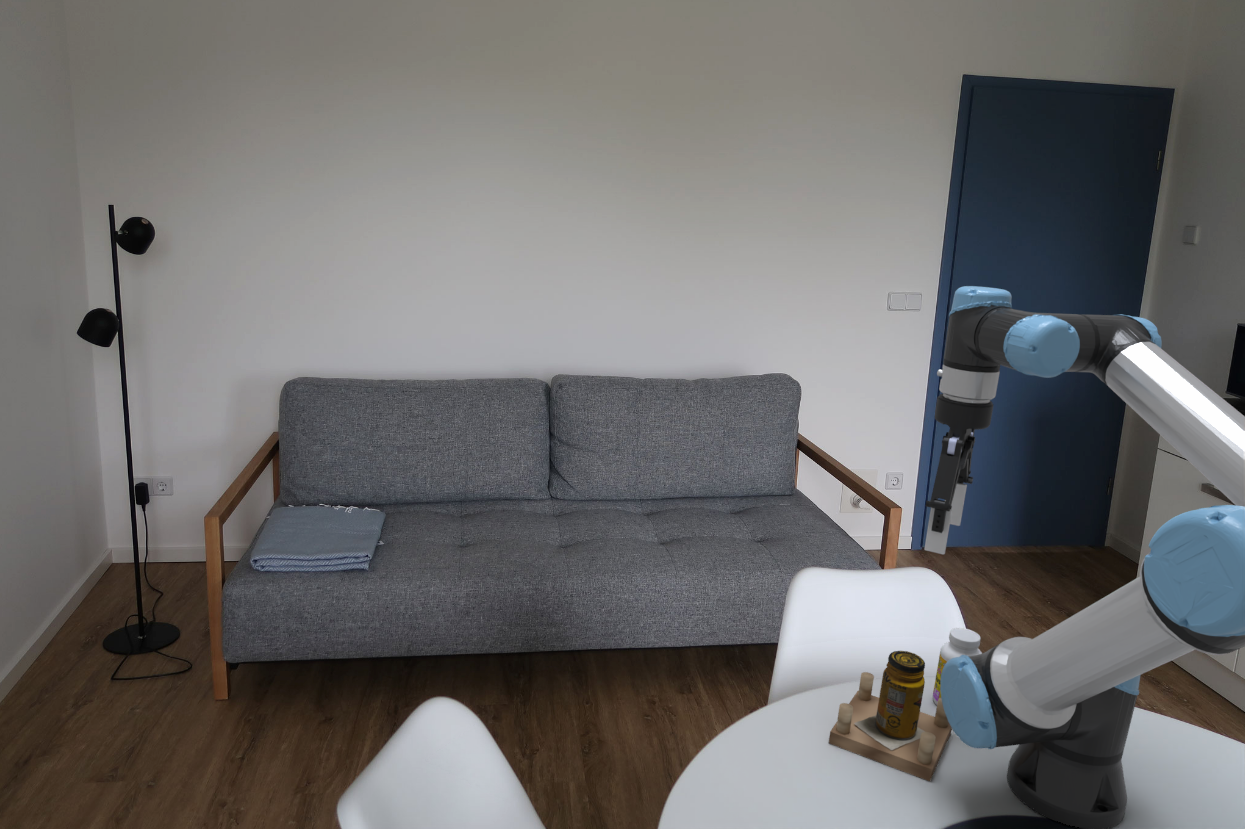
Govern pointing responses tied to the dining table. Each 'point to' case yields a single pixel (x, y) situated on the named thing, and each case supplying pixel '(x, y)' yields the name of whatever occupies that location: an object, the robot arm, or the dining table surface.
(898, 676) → the condiment
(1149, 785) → the dining table surface
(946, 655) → the supplement bottle
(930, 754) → the peg holder
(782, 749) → the dining table surface
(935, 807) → the dining table surface
